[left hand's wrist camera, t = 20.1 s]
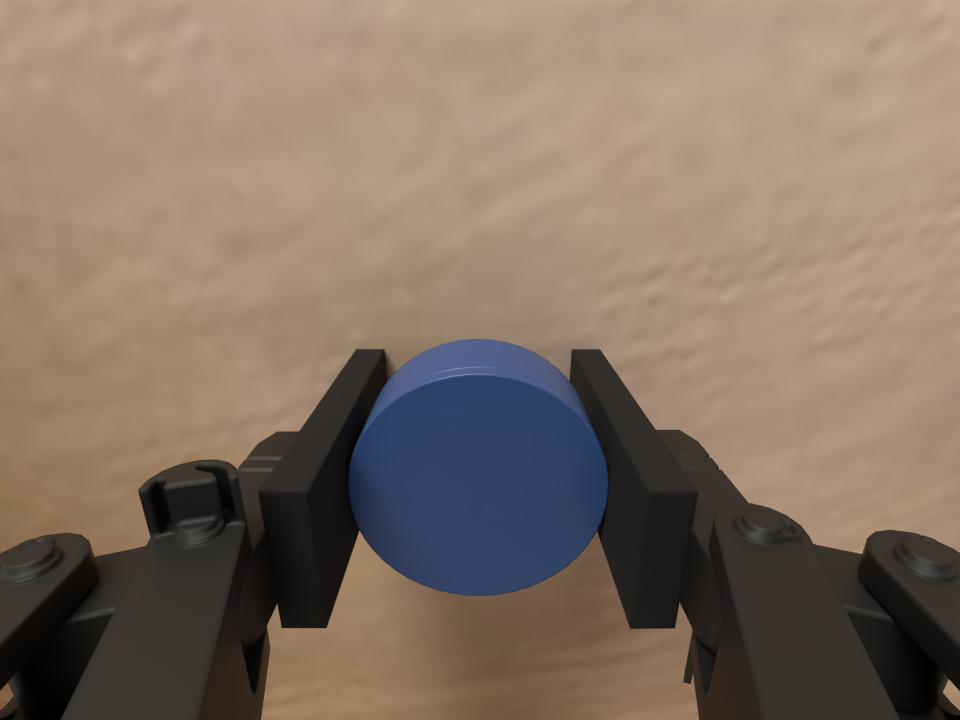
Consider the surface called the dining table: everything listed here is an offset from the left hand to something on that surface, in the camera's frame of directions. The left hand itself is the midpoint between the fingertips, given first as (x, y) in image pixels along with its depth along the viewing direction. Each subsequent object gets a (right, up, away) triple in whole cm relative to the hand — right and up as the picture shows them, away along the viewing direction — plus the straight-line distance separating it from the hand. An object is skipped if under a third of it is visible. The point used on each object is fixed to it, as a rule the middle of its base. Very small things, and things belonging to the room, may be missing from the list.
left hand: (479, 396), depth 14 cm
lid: (0, -2, -4) cm, 4 cm away
